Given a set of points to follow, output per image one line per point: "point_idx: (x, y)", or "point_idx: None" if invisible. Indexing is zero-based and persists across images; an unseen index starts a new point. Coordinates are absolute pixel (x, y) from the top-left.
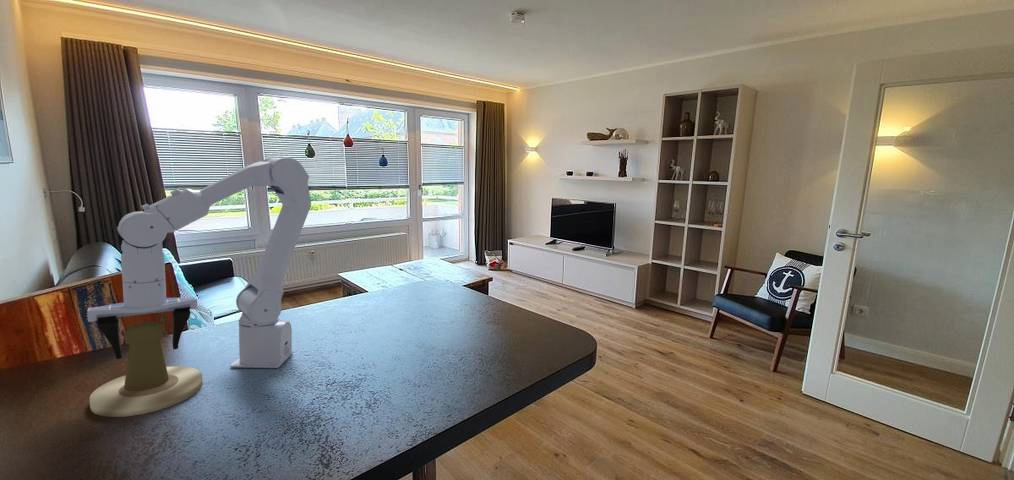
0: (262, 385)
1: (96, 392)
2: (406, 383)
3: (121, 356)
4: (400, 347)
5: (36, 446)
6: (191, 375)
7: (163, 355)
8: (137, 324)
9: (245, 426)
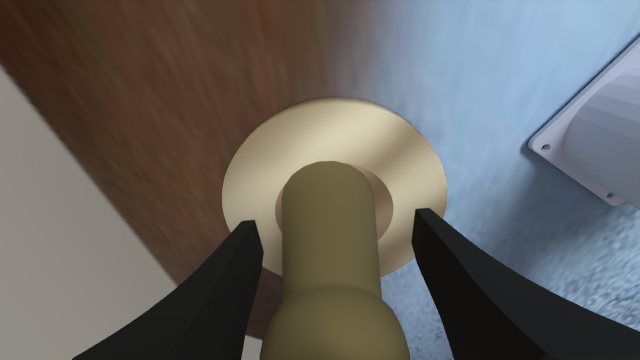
0: (527, 259)
1: (230, 202)
2: None
3: (262, 259)
4: None
5: None
6: (423, 202)
7: (377, 248)
8: None
9: (445, 342)
